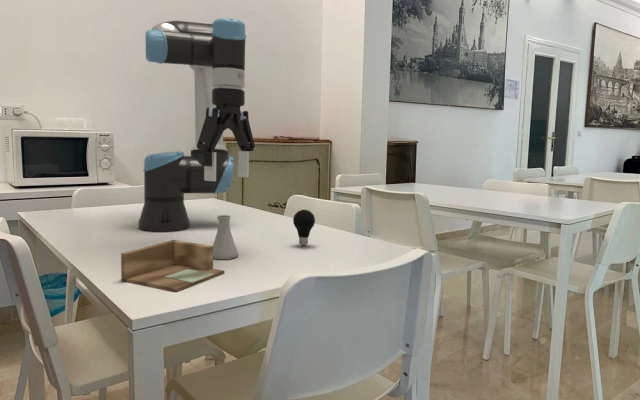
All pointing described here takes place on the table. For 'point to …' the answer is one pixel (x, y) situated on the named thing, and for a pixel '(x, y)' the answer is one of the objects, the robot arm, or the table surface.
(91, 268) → the table surface
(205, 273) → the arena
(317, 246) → the table surface
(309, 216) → the light bulb
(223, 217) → the flask
